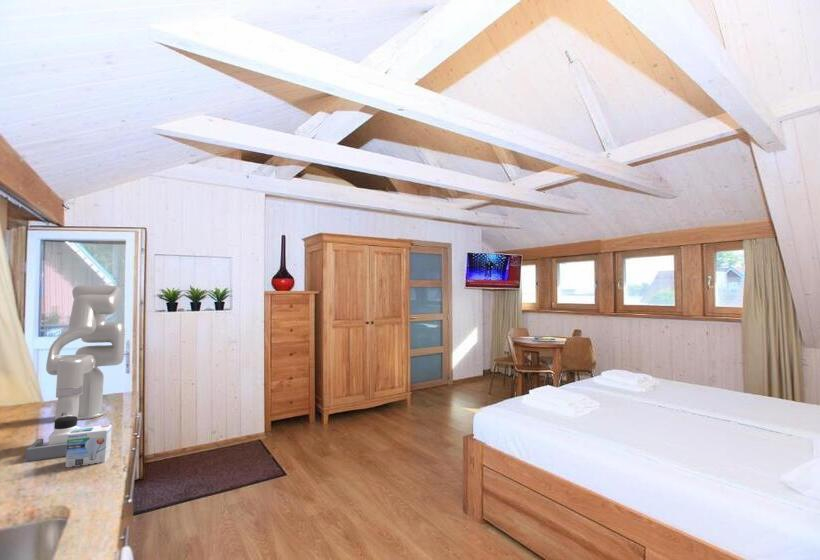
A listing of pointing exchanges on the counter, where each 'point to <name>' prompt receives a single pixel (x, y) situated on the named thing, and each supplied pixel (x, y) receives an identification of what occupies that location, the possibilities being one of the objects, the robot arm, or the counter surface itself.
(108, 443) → the light bulb box
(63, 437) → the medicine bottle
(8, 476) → the counter surface
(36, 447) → the bracket
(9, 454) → the counter surface
